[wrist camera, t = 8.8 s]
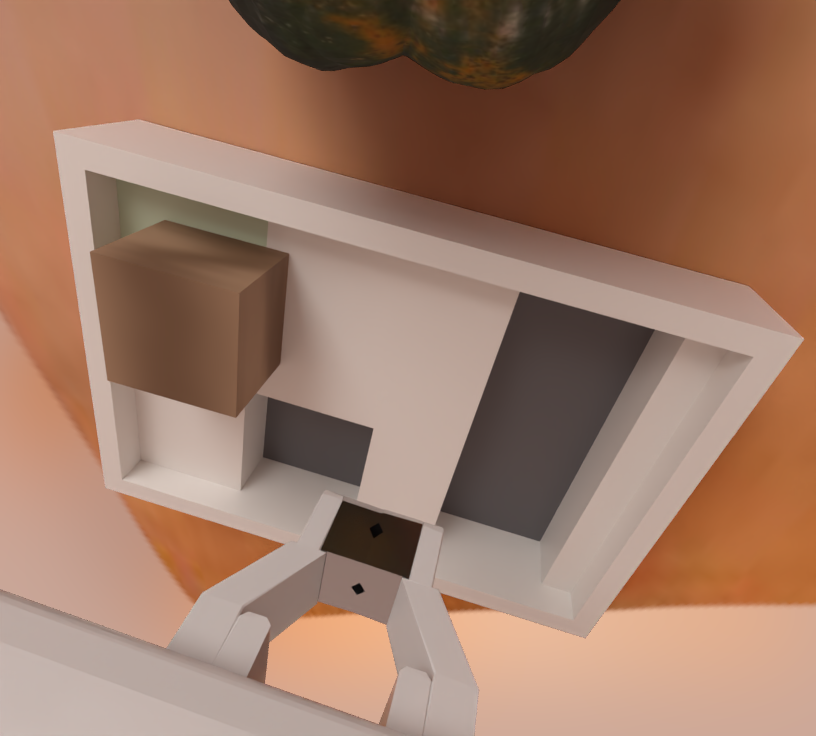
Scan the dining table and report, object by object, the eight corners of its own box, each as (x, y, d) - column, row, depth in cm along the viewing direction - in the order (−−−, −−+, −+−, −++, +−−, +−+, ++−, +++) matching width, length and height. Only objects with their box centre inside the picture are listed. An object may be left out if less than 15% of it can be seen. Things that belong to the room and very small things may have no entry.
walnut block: (289, 253, 19) (239, 292, 16) (280, 363, 22) (235, 418, 18) (165, 219, 19) (89, 251, 16) (171, 332, 22) (107, 380, 19)
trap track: (749, 286, 20) (804, 339, 16) (577, 562, 28) (585, 638, 25) (139, 119, 21) (53, 130, 17) (158, 434, 30) (105, 487, 26)
